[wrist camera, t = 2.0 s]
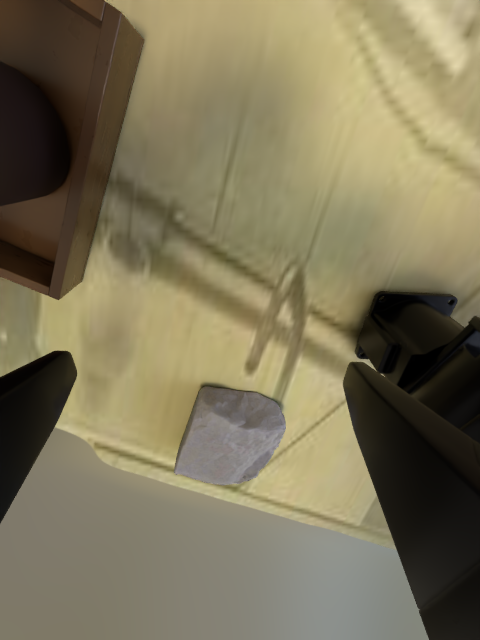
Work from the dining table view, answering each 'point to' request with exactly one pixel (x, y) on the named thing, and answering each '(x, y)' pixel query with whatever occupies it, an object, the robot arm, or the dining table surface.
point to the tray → (67, 130)
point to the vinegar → (28, 140)
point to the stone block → (229, 436)
